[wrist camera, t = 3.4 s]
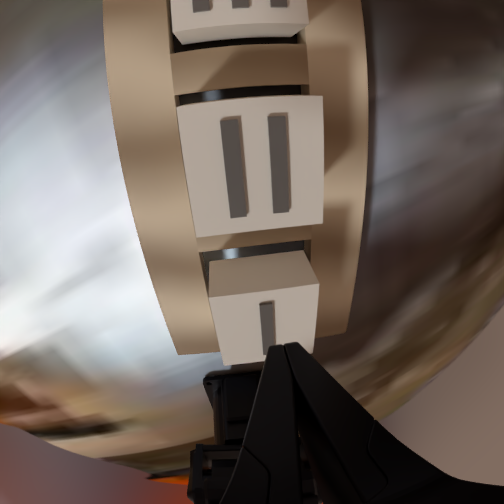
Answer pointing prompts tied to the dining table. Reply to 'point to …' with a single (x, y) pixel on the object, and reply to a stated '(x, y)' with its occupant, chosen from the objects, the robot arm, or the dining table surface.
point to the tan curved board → (172, 165)
